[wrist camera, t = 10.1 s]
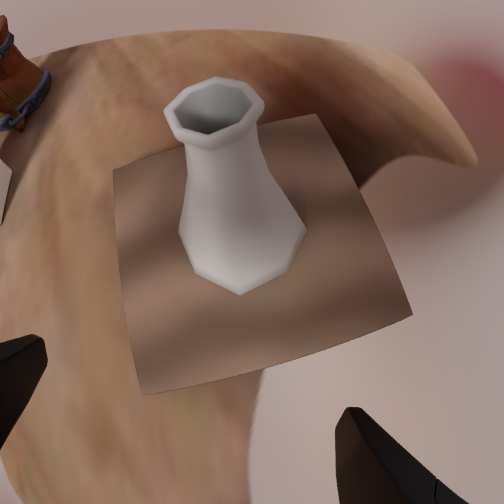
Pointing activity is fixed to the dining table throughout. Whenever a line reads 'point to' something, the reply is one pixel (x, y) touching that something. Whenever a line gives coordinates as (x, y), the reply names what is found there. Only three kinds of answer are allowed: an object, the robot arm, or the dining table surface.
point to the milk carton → (4, 185)
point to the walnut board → (264, 296)
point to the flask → (231, 188)
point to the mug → (18, 82)
